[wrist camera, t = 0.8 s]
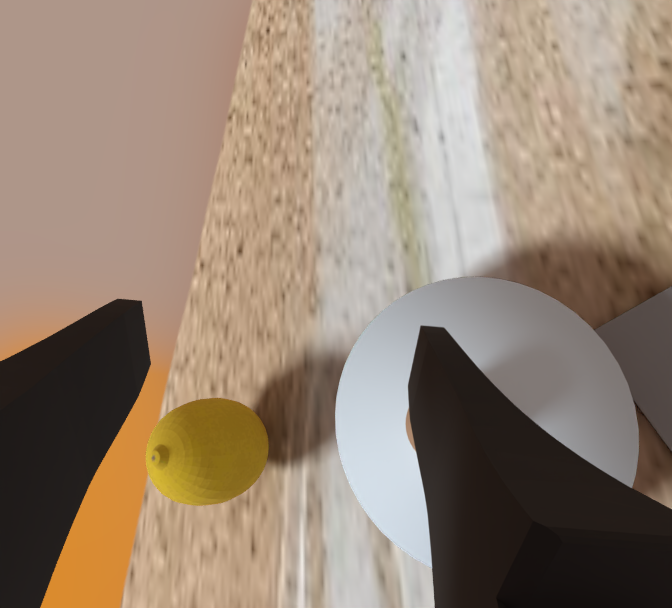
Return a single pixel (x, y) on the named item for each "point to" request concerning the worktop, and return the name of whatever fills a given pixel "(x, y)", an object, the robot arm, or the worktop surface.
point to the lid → (500, 368)
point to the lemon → (207, 451)
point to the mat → (646, 357)
